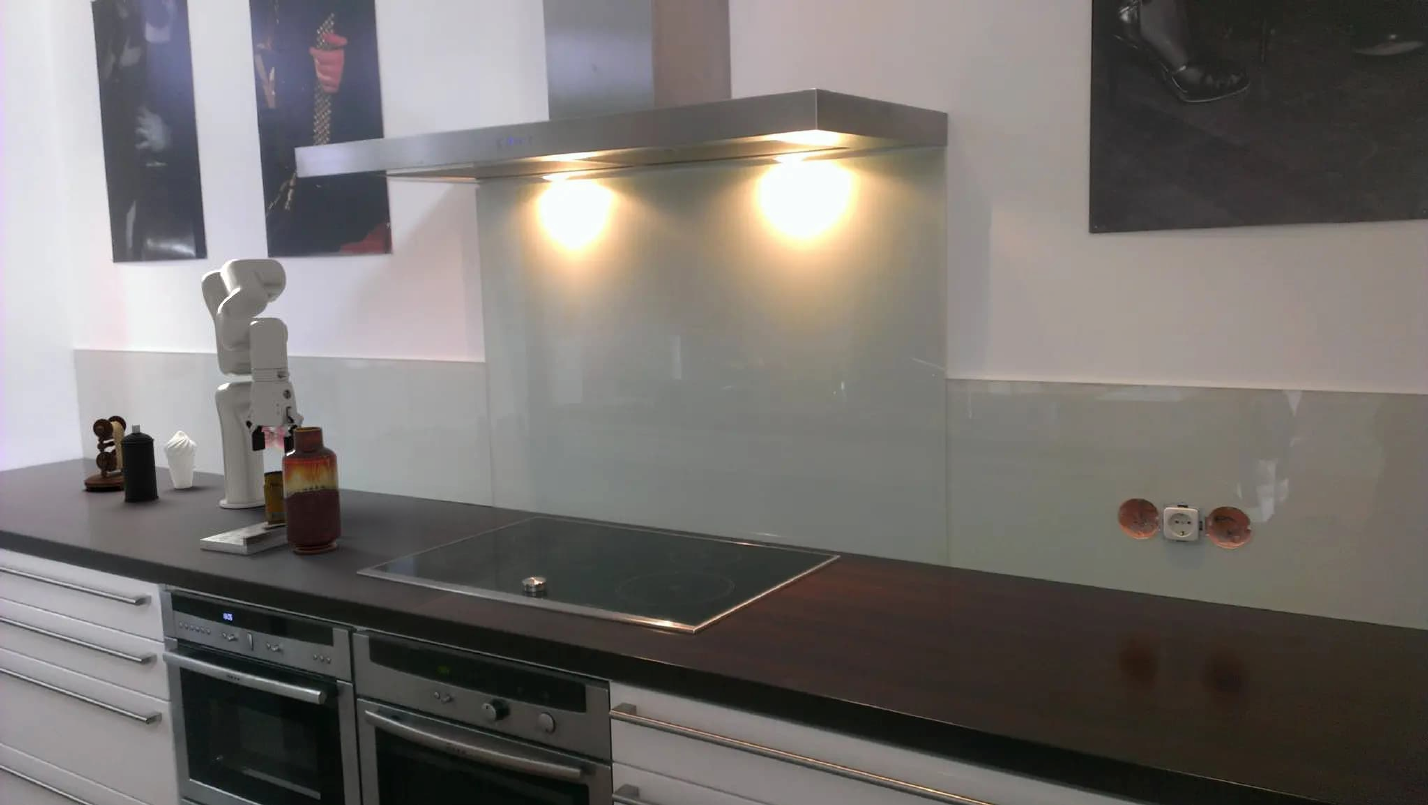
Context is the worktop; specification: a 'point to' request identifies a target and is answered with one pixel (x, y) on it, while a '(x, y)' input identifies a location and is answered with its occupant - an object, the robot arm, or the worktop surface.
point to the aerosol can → (138, 466)
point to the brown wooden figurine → (108, 453)
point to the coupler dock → (247, 539)
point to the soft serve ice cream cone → (181, 459)
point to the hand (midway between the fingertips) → (274, 451)
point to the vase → (311, 493)
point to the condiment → (274, 497)
